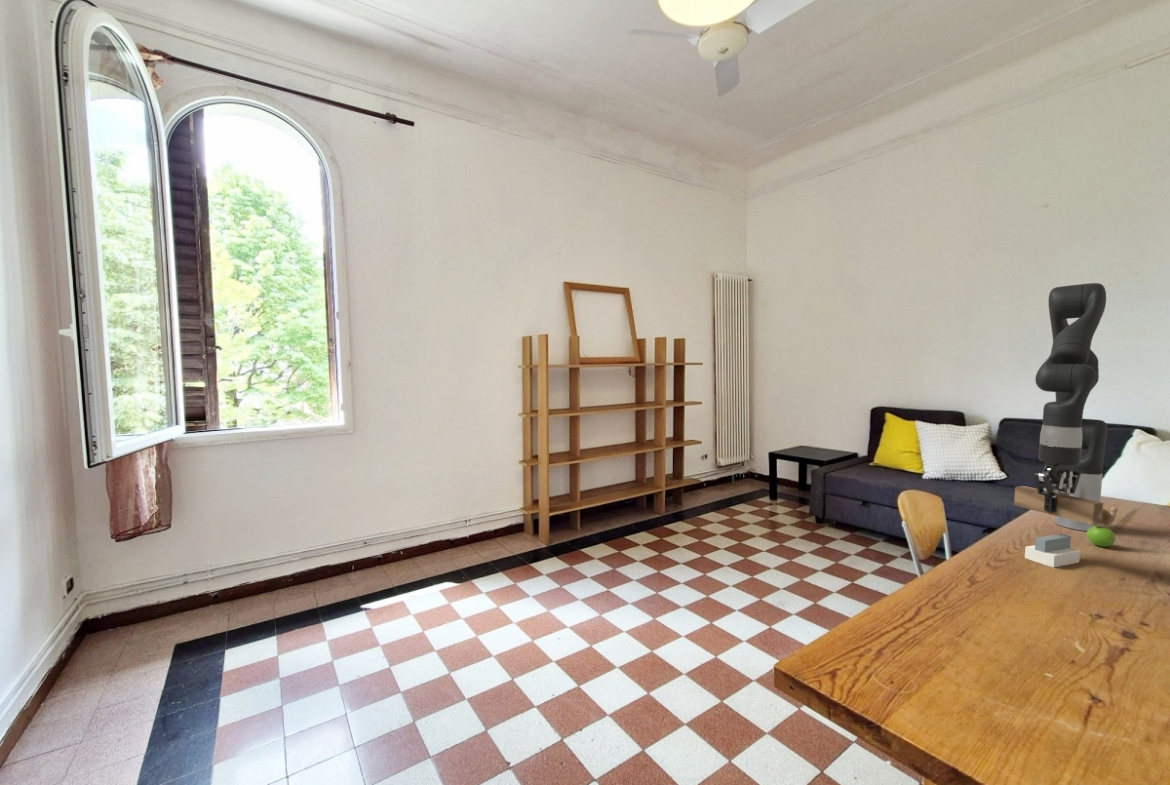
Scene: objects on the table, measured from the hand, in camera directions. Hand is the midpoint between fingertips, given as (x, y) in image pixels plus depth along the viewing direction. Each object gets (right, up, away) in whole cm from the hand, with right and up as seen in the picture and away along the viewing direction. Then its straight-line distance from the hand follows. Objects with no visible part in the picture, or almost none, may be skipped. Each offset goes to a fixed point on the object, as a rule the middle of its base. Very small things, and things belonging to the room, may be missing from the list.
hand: (1055, 510), depth 122 cm
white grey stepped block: (0, -13, +1) cm, 13 cm away
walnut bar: (0, -1, 0) cm, 1 cm away
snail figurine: (+23, -12, +11) cm, 28 cm away
